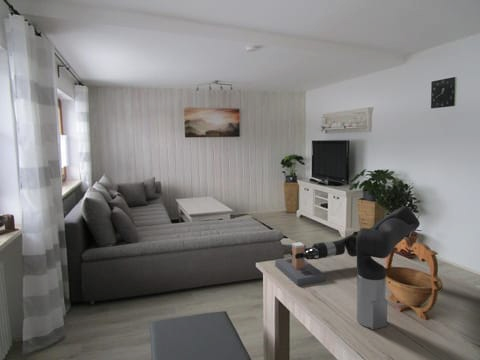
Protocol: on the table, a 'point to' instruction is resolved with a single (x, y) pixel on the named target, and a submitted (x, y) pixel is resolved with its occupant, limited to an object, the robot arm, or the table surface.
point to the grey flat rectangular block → (300, 272)
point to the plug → (298, 249)
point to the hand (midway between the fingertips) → (293, 254)
